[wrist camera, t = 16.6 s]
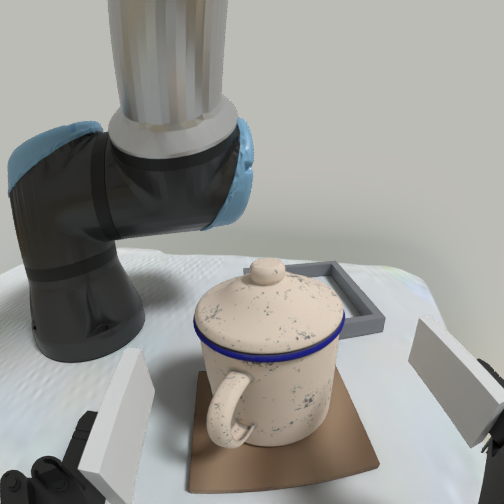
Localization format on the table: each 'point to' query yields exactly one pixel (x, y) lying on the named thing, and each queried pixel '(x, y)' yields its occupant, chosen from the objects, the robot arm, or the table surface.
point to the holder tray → (370, 313)
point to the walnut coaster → (281, 451)
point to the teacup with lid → (268, 355)
